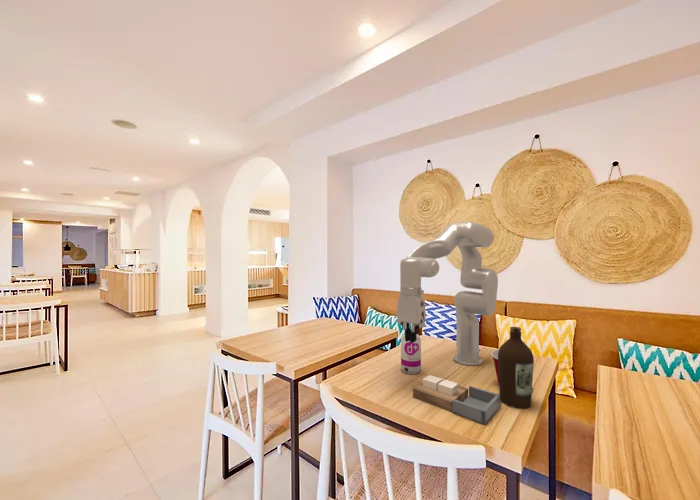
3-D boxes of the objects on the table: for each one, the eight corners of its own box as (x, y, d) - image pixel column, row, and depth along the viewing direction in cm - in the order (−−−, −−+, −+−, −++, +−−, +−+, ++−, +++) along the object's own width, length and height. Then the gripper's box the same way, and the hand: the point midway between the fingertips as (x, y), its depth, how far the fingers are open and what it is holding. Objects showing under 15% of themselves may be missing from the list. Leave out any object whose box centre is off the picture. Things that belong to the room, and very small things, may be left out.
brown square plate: (431, 385, 119) (431, 377, 119) (468, 397, 110) (468, 388, 110) (413, 397, 110) (413, 388, 110) (451, 411, 100) (451, 402, 100)
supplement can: (421, 375, 128) (421, 338, 128) (400, 373, 130) (400, 337, 129) (420, 367, 136) (420, 333, 136) (401, 366, 138) (401, 332, 137)
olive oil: (490, 396, 110) (491, 324, 110) (515, 392, 113) (516, 322, 113) (514, 411, 100) (514, 333, 99) (541, 407, 103) (541, 330, 102)
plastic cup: (486, 386, 118) (486, 354, 118) (496, 377, 126) (496, 347, 126) (518, 395, 111) (518, 361, 111) (526, 385, 119) (526, 353, 119)
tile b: (444, 386, 111) (444, 379, 111) (458, 390, 108) (458, 383, 108) (437, 391, 108) (437, 384, 108) (451, 396, 104) (451, 388, 104)
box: (470, 397, 110) (470, 385, 110) (500, 406, 103) (500, 394, 103) (452, 412, 99) (452, 400, 99) (484, 425, 93) (484, 411, 93)
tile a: (429, 381, 115) (429, 374, 115) (442, 385, 112) (442, 378, 112) (422, 386, 112) (422, 379, 111) (435, 390, 108) (435, 383, 108)
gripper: (434, 292, 115) (434, 343, 115) (398, 288, 125) (398, 335, 126) (424, 295, 109) (424, 348, 109) (387, 291, 120) (387, 339, 120)
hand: (410, 341), depth 118 cm, fingers closed
